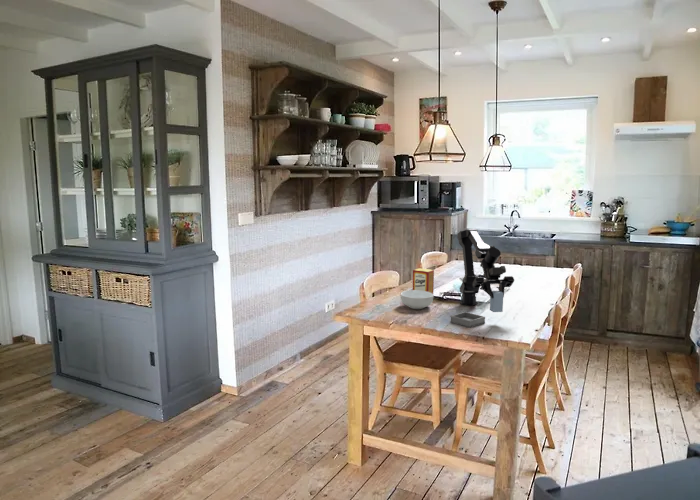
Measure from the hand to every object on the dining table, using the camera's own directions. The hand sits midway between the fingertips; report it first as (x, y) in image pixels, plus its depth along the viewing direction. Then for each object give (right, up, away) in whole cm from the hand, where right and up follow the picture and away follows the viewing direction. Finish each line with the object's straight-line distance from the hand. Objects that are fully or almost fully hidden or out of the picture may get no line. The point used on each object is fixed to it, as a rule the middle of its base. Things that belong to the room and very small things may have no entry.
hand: (498, 297), depth 242 cm
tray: (-13, -12, +4) cm, 18 cm away
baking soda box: (-28, -5, +50) cm, 57 cm away
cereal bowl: (-33, -8, +31) cm, 46 cm away
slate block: (0, -6, +2) cm, 7 cm away
